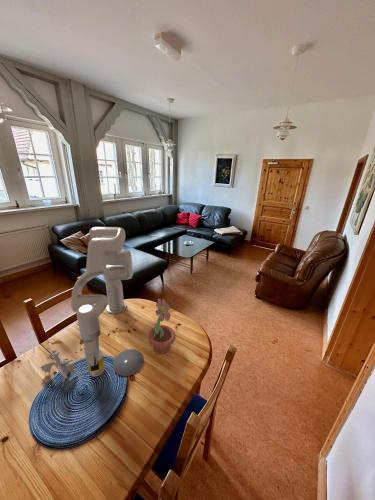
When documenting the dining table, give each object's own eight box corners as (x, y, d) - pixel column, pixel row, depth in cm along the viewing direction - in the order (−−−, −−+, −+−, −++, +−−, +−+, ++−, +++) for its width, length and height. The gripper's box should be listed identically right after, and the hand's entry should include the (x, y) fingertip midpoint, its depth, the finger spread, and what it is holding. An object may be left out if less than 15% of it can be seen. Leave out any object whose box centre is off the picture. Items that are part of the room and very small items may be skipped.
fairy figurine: (71, 391, 83) (47, 371, 77) (48, 384, 92) (25, 366, 86) (88, 367, 90) (67, 347, 84) (65, 362, 99) (45, 345, 93)
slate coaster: (112, 354, 103) (112, 353, 102) (141, 347, 107) (141, 346, 107) (113, 380, 90) (113, 378, 90) (145, 371, 95) (145, 369, 95)
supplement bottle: (107, 364, 97) (104, 344, 92) (100, 378, 91) (97, 357, 86) (93, 363, 97) (90, 343, 93) (86, 376, 91) (81, 355, 86)
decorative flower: (170, 364, 99) (171, 314, 88) (143, 358, 101) (141, 309, 90) (177, 340, 113) (179, 294, 101) (154, 335, 115) (153, 290, 104)
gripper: (82, 320, 92) (88, 349, 99) (77, 350, 77) (84, 383, 84) (100, 316, 94) (104, 345, 101) (99, 346, 79) (104, 377, 86)
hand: (95, 362), depth 92 cm, fingers closed on supplement bottle, 6 cm apart
